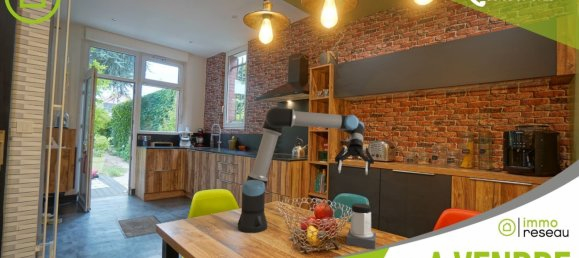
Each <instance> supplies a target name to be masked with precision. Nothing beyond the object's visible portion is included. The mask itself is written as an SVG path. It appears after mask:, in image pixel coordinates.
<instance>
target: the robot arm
mask: <svg viewBox="0 0 579 258" xmlns="http://www.w3.org/2000/svg"><path fill="white" fill-rule="evenodd" d="M293 126H296V127H297V126H299V127H309V128H310V127H311V128H322V129H323V128H325V129H326V128H327V129H337V130H339V131H342V132H343V133H346V134H348V135H349V142H348V147H347V148H346V147H344V146H342V148H341V150H340V151H339V152H338V154H337V155H336V156H335V157H334V162H335V163H336V167H337V168H338V169H337V170H338V174H341V171H342V165H343V164H342V162H343V161H345V160H347V159H348V158H350V157H359V158H361V159H362V160H363V161H364V162H365V175H366V176H368V172H369V171H368V170H370V169H371V165H374V163H375V160H374V158H373V156H372V154H370V151H369V148H368V147H366V148H363V146H364V136H365V124H364V122H363V121H361V120H359V119H358V117H357V116H356V115H353V114H349V115H345V114H335V113H334V114H332V113H324V112H323V113H319V112H306V111H297V110H296V111H295V110H294V108H287V107H281V106H273V107H271V108H270V109H268V110H267V112H266V115H265V118H264V121H263V125H262V131H263V135H262V137H261V141H260V144H259V147H258V150H257V154H256V158H255V160H254V163H253V168H252V170H251V172H250V173H249V174H248V175H247V178H246V181H245V180H244V182H243V183H242V185H241V186H242V187H241V213H240V217H239V219H238V221H237V230H238V231H240V232H243V233H249V234H250V233H261V232H264V231H266V230H268V221H267V217H266V213H265V205H266V204H265V199H266V198H265V197H266V196H265V195H266V188H267V185H268V182H269V179H268V178H267V175H268V172H269V169H270V166H271V162H272V159H273V155H274V153H275V152H274V151H275V148H276V146H277V142H278V139H279V136H281V135H282V134H283V131H284V128H286V127H287V128H292V127H293ZM363 152H364V153H365V154H364V153H363Z"/></svg>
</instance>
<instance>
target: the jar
mask: <svg viewBox="0 0 579 258" xmlns="http://www.w3.org/2000/svg"><path fill="white" fill-rule="evenodd" d="M351 212H354V214H353V215H352V216H351V215H350V229H351V231H352V232H353V233H354V234H359V235H368V234H371V232H372V212H371V206H370V205H369V204H367V203H361V202H359V203H356V202H355V203H351V210H350V213H351Z"/></svg>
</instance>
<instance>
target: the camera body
mask: <svg viewBox="0 0 579 258" xmlns="http://www.w3.org/2000/svg"><path fill="white" fill-rule="evenodd" d="M345 242H346V243H345V244H346V246H351V247H357V248H365V249H370V248H371V250H375V249H376V244H377V232H374V231H371V234H368V235H359V234H354V233H353V232H352V231H351V228H350V229H349V230H348V232H347V235H346V241H345Z"/></svg>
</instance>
